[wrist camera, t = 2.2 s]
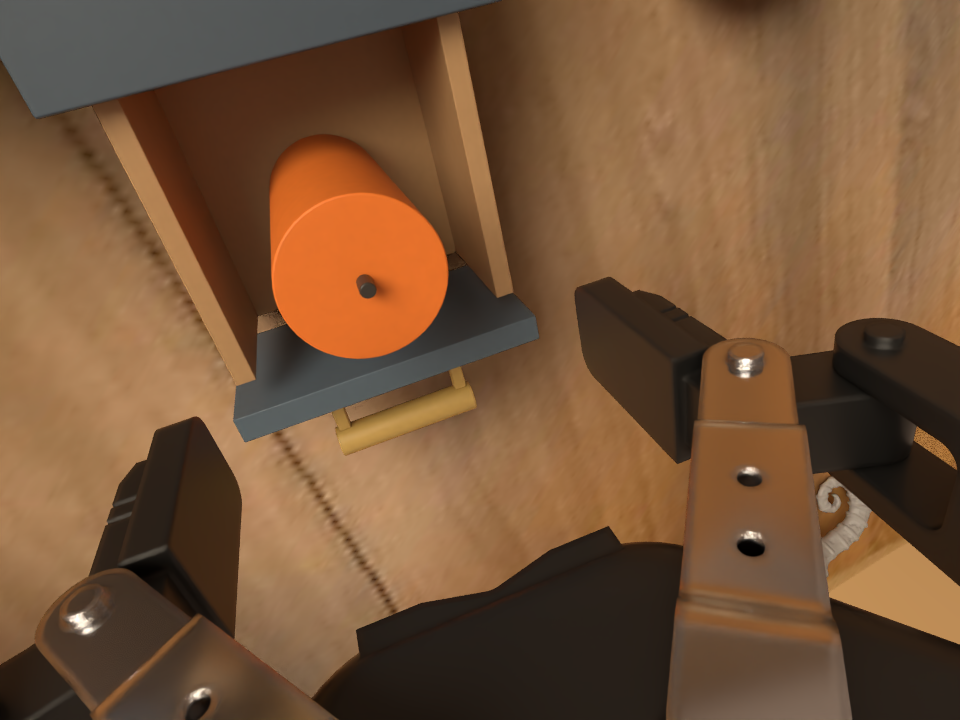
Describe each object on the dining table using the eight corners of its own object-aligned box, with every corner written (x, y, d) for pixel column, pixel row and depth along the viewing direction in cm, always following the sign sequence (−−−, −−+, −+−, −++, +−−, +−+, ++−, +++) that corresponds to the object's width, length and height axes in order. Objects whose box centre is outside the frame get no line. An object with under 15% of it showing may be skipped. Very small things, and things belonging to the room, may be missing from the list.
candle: (294, 261, 29) (311, 394, 18) (250, 152, 26) (240, 232, 15) (397, 229, 30) (472, 339, 19) (365, 120, 27) (431, 175, 16)
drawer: (500, 345, 36) (553, 414, 29) (280, 422, 34) (284, 515, 27) (406, -76, 25) (456, -117, 18) (73, -1, 23) (-4, -15, 16)
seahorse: (857, 437, 50) (680, 591, 48) (911, 537, 53) (747, 688, 50) (809, 424, 55) (647, 563, 53) (861, 516, 58) (709, 653, 55)
